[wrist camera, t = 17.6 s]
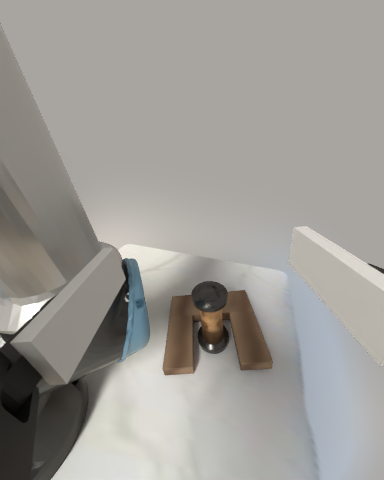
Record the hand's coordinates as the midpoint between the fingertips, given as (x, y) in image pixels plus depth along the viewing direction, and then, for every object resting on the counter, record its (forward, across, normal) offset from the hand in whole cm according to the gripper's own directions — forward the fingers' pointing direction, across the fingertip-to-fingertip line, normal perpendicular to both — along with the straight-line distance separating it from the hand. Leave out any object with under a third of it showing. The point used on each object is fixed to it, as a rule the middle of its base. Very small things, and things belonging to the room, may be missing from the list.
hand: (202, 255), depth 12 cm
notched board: (+14, 0, -27) cm, 30 cm away
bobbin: (+12, 0, -27) cm, 29 cm away
